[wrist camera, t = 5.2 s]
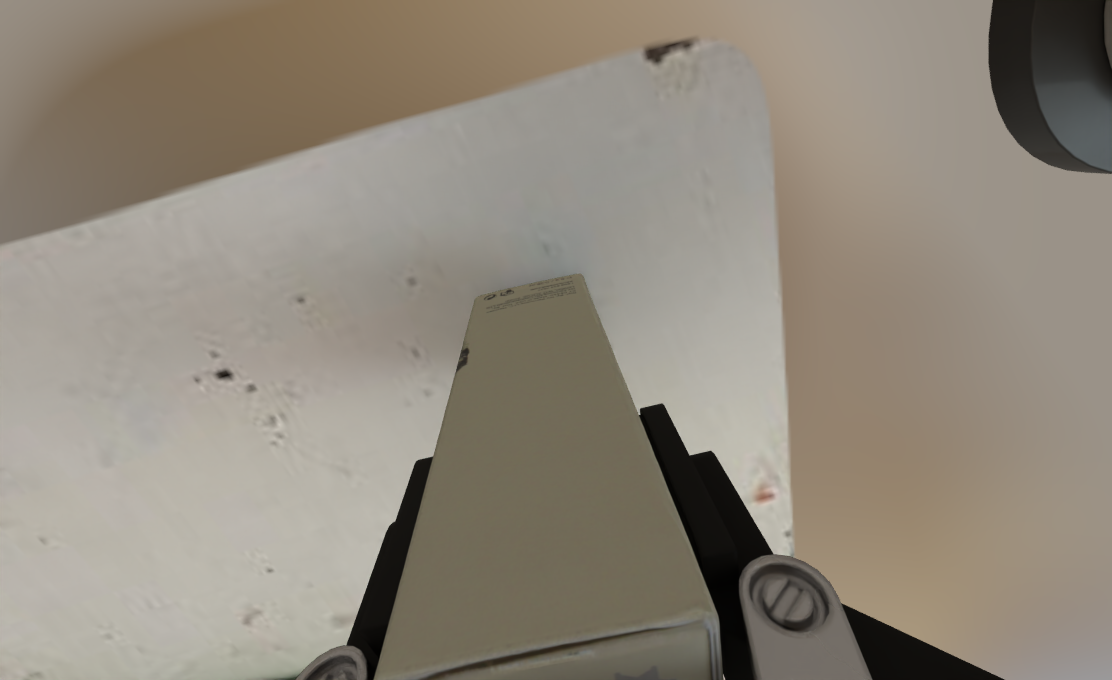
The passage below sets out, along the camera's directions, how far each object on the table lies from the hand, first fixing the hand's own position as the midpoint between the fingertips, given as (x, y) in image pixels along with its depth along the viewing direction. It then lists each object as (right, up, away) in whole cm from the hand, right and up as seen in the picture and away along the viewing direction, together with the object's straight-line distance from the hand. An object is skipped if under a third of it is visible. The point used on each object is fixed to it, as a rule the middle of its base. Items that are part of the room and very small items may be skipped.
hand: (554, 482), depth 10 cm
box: (-1, +3, +7) cm, 8 cm away
